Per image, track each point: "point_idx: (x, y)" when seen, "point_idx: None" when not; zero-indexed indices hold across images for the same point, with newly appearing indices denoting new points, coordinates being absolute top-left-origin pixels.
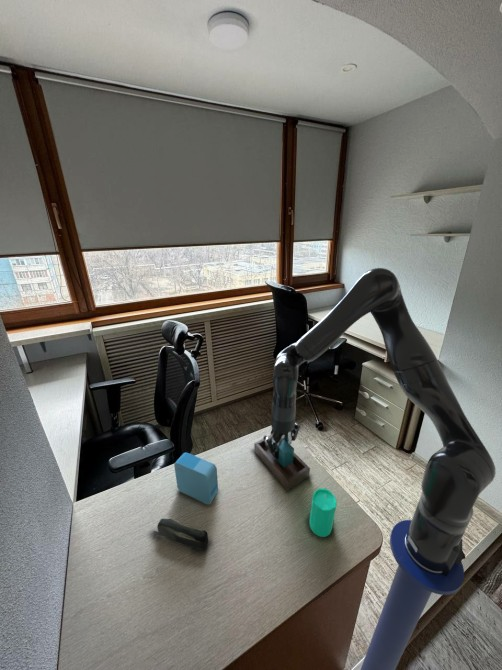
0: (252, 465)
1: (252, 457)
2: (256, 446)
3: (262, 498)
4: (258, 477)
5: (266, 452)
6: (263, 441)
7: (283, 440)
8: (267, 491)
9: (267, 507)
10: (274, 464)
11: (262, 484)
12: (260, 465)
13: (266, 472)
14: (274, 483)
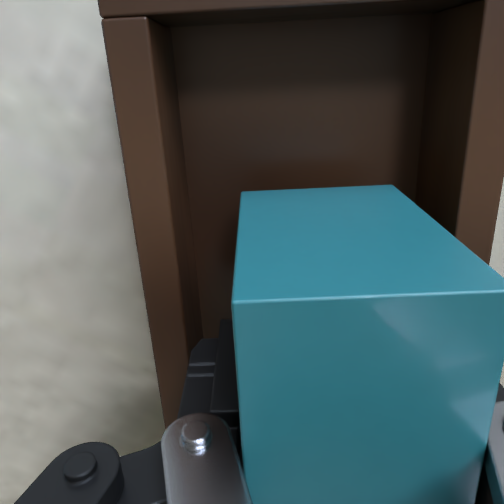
0: (36, 169)
1: (76, 73)
2: (108, 39)
3: (5, 445)
4: (42, 305)
5: (245, 120)
6: (257, 9)
7: (440, 472)
8: (61, 424)
9: (14, 497)
10: (172, 406)
11: (48, 368)
12: (114, 210)
13: (131, 299)
14: (142, 402)
